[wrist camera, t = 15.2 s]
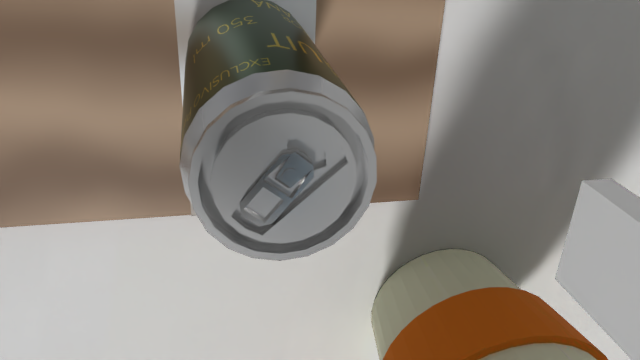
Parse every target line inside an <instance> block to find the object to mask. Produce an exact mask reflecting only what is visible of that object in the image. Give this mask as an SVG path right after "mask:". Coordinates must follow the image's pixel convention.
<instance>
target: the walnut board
mask: <svg viewBox="0 0 640 360" xmlns="http://www.w3.org/2000/svg"><path fill="white" fill-rule="evenodd" d="M226 1H228V0H0V227H15V226H30V225H45V224H60V223H75V222H90V221H105V220H120V219H135V218H150V217H165V216H180V215H191V216H195V215H196V213H195V212H194V210H193V206H192V203H191V202H190V200H189V199H188V197H187V195H186V194H185V190H184V185H183V180H182V176H181V171H180V166H179V164H180V147H181V129H182V112H183V94H184V77H185V60H186V52H187V46H188V39H189V37H190V35H191V34H192V32H193V30H194V28H195V26H196V24H197V22H198V21H199V20H200V19H201V18H202V17H203V16H204V15H205V14H206V13H207V12H208V11H209V10H210V9H212V8H213V7H215V6H217V5H219V4H221V3H224V2H226ZM268 1H272V2H274V3H275V4H277V5H279V6H280V7H282V8H283V9H285V10H287V11H288V12H290V14H291V15H292V16H293V17H294V18H295V19H296V21H297V22H298V23H299V24H300V25H301V26H302V28H303V29H304V30H305V32H306V33H307V35H308V36H309V37H310V39H311V40H312V41H313V43H314V44H315V46H316V47H317V48H318V50H319V51H320V52H321V54H322V55H323V56H324V58H325V59H326V61H327V62H328V63H329V65H330V66H331V67H332V69H333V70H334V72H335V73H336V74H337V76H338V77H339V78H340V80H341V81H342V83H343V84H344V85H345V87H346V88H347V89H348V91H349V92H350V93H351V95H352V96H353V98H354V99H355V100H356V102H357V103H358V104H359V106H360V107H361V109H362V110H363V111H364V113H365V115H366V118H367V121H368V123H369V126H370V129H371V131H372V134H373V137H374V151H375V154H376V165H377V183H376V186H375V189H374V192H373V195H372V198H371V201H370V203H375V202H390V201H405V200H418V198H419V191H420V183H421V176H422V169H423V161H424V154H425V146H426V139H427V132H428V124H429V117H430V109H431V102H432V95H433V87H434V80H435V72H436V65H437V58H438V50H439V43H440V35H441V28H442V21H443V13H444V6H445V0H268Z"/></svg>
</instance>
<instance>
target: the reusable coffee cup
mask: <svg viewBox="0 0 640 360" xmlns="http://www.w3.org/2000/svg"><path fill="white" fill-rule="evenodd" d="M371 322H372V327H373V332H374V336H375V341H376V345H377V350H378V355H379V359H380V360H608V359H607V357H606V356H605V355H604V354H603V353H602V352H601V351H600V350H598V349H597V348H596V347H595V346H594V345H593V344H592V343H591V342H589V341H588V340H587V339H586V338H585V337H584V336H583V335H582V334H580V333H579V332H578V331H577V330H576V329H575V328H574V327H573V326H572V325H570V324H569V323H568V322H567V321H566V320H565V319H564V318H563V317H561V316H560V315H559V314H558V313H557V312H556V311H555V310H554V309H553V308H551V307H550V306H549V305H548V304H547V303H545V302H544V301H543V300H542V299H541V298H539V297H538V296H536V295H533V294H531V293H529V292H527V291H524V290H521V289H520V288H519V287H517V286H516V285H515V284H514V283H513V282H512V281H511V280H510V279H509V278H508V277H507V276H505V275H504V274H503V273H502V272H501V271H500V270H499V269H498V268H497V267H496V266H495V265H494V264H492V263H491V262H490V261H489V260H488V259H486V258H485V257H484V256H482V255H479V254H477V253H475V252H472V251H467V250H463V249H446V250H439V251H434V252H431V253H428V254H425V255H422V256H420V257H418V258H416V259H414V260H411V261H409V262H408V263H406V264H405V265H404V266H402V267H401V268H399V269H398V270H397V271H396V272H395V273H394V274H393V275H392V276H390V277H389V278H388V279H387V281H386V282H385V283H384V285H383V286H382V287H381V289H380V290H379V292H378V294H377V296H376V298H375V301H374V304H373V308H372V321H371Z"/></svg>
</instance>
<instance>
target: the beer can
mask: <svg viewBox="0 0 640 360" xmlns="http://www.w3.org/2000/svg"><path fill="white" fill-rule="evenodd" d="M179 166H180V171H181V176H182V180H183V185H184V190H185V194H186V195H187V197H188V199H189V200H190V202H191V203H192V206H193V210H194V212H195V213H196V215H197V216H198V218H199V220H200V221H201V223H202V224H203V226H204V228H205V229H206V231H207V232H208V233H209V234H210V235H212V236H213V237H214V238H215V239H217V240H218V241H219V242H220V243H222V244H223V245H224V246H225V247H227V248H228V249H231V250H233V251H236V252H238V253H241V254H243V255H246V256H249V257H251V258H256V259H267V260H278V261H281V260H287V259H293V258H299V257H305V256H309V255H311V254H313V253H315V252H318V251H320V250H322V249H324V248H327V247H329V246H331V245H333V244H334V243H335V242H337V241H338V240H339V239H340V238H342V237H343V236H344V235H345V234H347V233H348V232H349V231H350V230H352V229H353V228H354V226H355V225H356V224H357V222H358V221H359V219H360V218H361V217H362V215H363V214H364V212H365V211H366V210H367V208H368V207H369V204H370V201H371V198H372V195H373V192H374V189H375V186H376V183H377V165H376V154H375V151H374V137H373V134H372V131H371V129H370V126H369V123H368V121H367V118H366V115H365V113H364V111H363V110H362V109H361V107H360V106H359V104H358V103H357V102H356V100H355V99H354V98H353V96H352V95H351V93H350V92H349V91H348V89H347V88H346V87H345V85H344V84H343V83H342V81H341V80H340V78H339V77H338V76H337V74H336V73H335V72H334V70H333V69H332V67H331V66H330V65H329V63H328V62H327V61H326V59H325V58H324V56H323V55H322V54H321V52H320V51H319V50H318V48H317V47H316V46H315V44H314V43H313V41H312V40H311V39H310V37H309V36H308V35H307V33H306V32H305V30H304V29H303V28H302V26H301V25H300V24H299V23H298V22H297V21H296V19H295V18H294V17H293V16H292V15H291V14H290V12H288V11H287V10H285V9H283V8H282V7H280V6H279V5H277V4H275V3H274V2H272V1H268V0H228V1H226V2H224V3H221V4H219V5H217V6H215V7H213V8H212V9H210V10H209V11H208V12H207V13H206V14H205V15H204V16H203V17H202V18H201V19H200V20H199V21H198V22H197V24H196V26H195V28H194V30H193V32H192V34H191V35H190V37H189V39H188V46H187V52H186V60H185V77H184V94H183V112H182V129H181V147H180V164H179Z"/></svg>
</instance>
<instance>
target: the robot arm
mask: <svg viewBox="0 0 640 360" xmlns="http://www.w3.org/2000/svg"><path fill="white" fill-rule="evenodd" d="M555 279H556V280H557V281H558V282H559V283H560V285H561V286H562V287H563V288H564V289H565V290H566V291H567V292H568V293H569V294H570V295H571V296H572V297H573V298H574V299H575V300H576V301H577V302H578V304H579V305H580V306H581V307H582V308H583V309H584V310H585V311H586V312H587V313H588V314H589V315H590V316H591V317H592V318H593V319H594V320H595V322H596V323H597V324H598V325H599V326H600V327H601V328H602V329H603V330H604V331H605V332H606V333H607V334H608V335H609V336H610V337H611V338H612V340H613V341H614V342H615V343H616V344H617V345H618V346H619V347H620V348H621V349H622V350H623V351H624V352H625V353H626V354H627V355H628V356H629V358H630V359H631V360H640V198H639V197H638V196H637V195H635V194H634V193H632V192H631V191H629V190H628V189H626V188H625V187H623V186H622V185H620V184H619V183H617V182H616V181H614V180H613V179H612V178H611V179H597V180H582V183H581V186H580V190H579V194H578V197H577V201H576V204H575V208H574V212H573V215H572V219H571V223H570V226H569V230H568V233H567V237H566V241H565V244H564V248H563V252H562V255H561V259H560V262H559V266H558V270H557V273H556V277H555Z"/></svg>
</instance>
